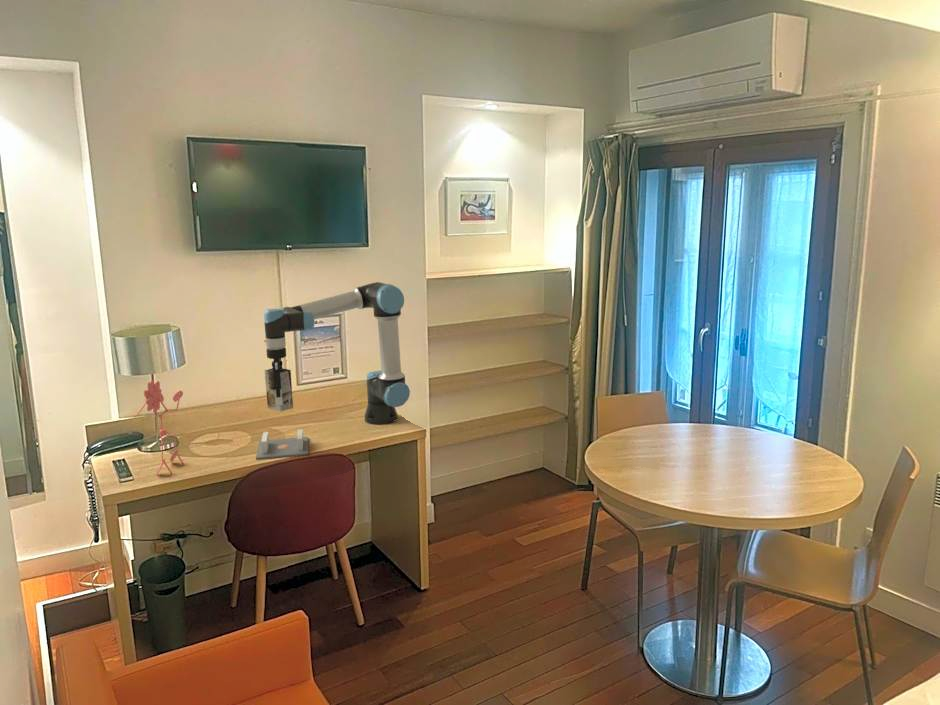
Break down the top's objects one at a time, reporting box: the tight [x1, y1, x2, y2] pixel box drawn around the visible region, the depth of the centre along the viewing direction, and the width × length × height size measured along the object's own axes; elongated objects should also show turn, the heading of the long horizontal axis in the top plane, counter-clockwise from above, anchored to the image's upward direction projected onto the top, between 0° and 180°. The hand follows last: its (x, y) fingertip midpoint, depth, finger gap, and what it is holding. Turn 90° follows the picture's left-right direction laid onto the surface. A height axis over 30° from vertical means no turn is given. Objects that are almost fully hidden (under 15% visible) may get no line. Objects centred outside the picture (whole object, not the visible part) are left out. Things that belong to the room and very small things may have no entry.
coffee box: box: [264, 367, 294, 412], centre depth 277 cm, size 9×6×16 cm
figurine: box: [134, 379, 185, 475], centre depth 259 cm, size 15×26×35 cm, turn 175°
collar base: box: [255, 428, 309, 460], centre depth 282 cm, size 20×20×6 cm
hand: (279, 400), depth 278 cm, fingers closed on coffee box, 11 cm apart
